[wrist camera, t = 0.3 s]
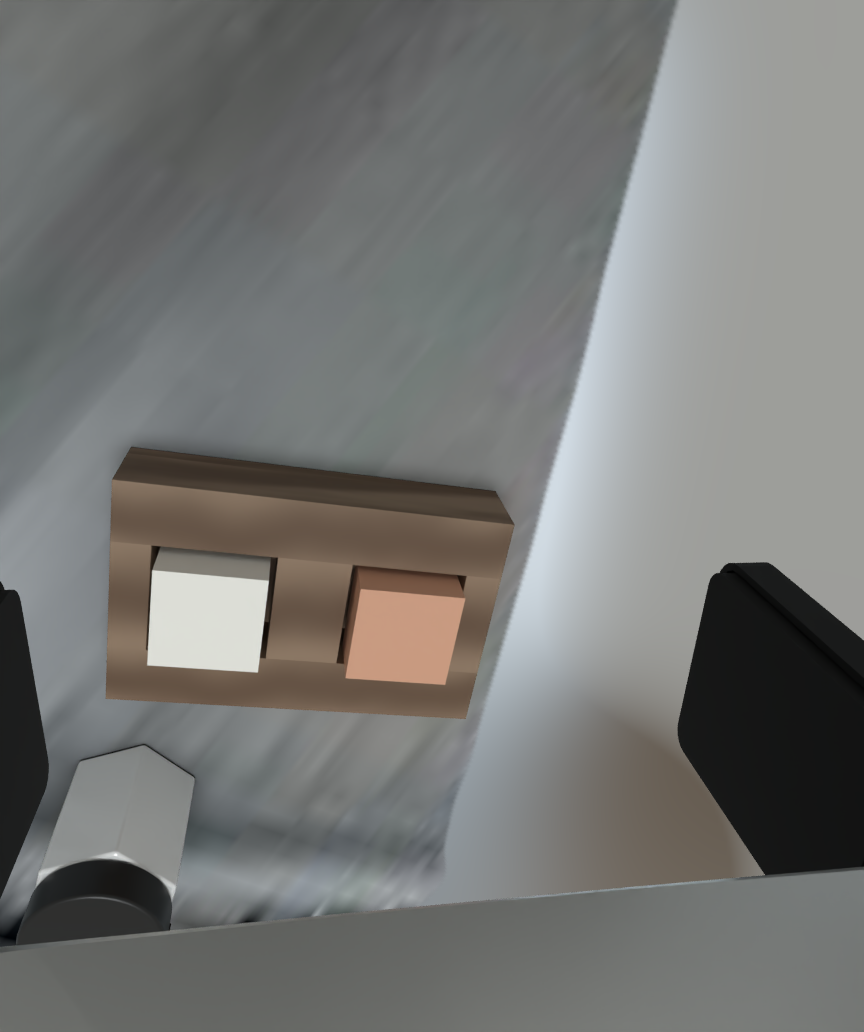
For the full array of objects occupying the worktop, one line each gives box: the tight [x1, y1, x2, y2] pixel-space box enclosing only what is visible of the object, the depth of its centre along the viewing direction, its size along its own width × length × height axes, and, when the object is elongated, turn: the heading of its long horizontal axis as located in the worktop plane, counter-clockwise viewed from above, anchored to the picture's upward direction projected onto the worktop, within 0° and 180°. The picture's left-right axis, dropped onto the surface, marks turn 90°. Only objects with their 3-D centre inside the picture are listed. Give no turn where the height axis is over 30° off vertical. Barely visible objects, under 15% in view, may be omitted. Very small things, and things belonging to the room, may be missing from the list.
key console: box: [106, 447, 514, 719], centre depth 48 cm, size 14×22×5 cm, turn 79°
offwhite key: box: [147, 546, 271, 673], centre depth 44 cm, size 6×6×4 cm
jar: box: [16, 745, 195, 946], centre depth 50 cm, size 9×8×12 cm
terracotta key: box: [343, 565, 465, 685], centre depth 46 cm, size 6×6×4 cm
